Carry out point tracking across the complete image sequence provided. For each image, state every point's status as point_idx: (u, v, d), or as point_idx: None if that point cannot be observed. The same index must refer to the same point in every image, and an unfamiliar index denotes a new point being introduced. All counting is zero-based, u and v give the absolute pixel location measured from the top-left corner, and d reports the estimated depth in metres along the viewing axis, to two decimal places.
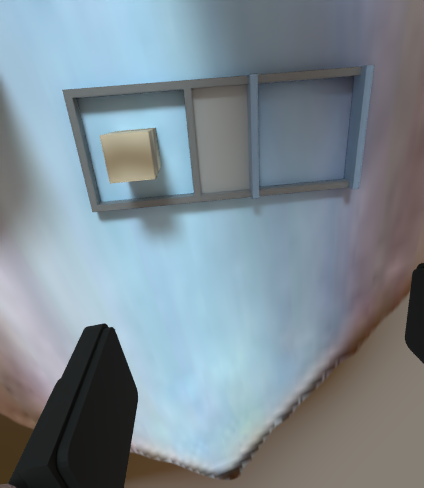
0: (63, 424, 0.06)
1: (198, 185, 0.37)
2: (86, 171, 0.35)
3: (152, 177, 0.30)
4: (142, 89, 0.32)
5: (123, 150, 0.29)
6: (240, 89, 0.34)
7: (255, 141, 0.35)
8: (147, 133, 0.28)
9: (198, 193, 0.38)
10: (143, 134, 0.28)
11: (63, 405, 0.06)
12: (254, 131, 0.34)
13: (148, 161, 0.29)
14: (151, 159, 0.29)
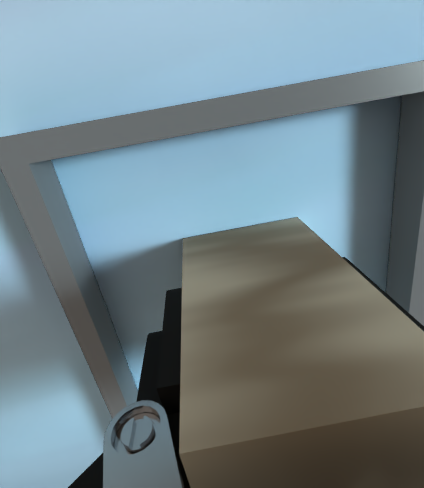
0: None
1: None
2: (169, 124, 0.08)
3: None
4: (416, 302, 0.12)
5: None
6: None
7: None
8: None
9: None
10: None
11: (174, 345, 0.07)
12: None
13: None
14: None
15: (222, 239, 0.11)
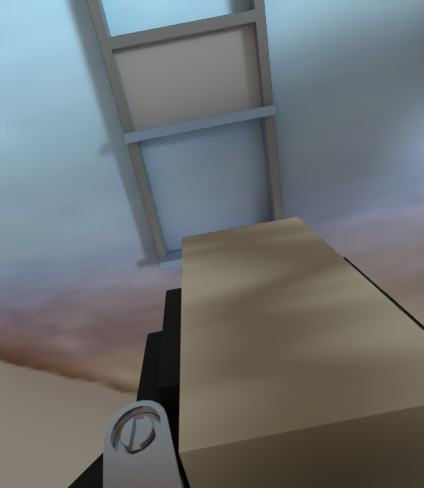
0: None
1: (126, 43, 0.24)
2: None
3: None
4: None
5: (382, 487, 0.05)
6: (256, 98, 0.28)
7: (199, 124, 0.26)
8: None
9: (113, 44, 0.24)
10: None
11: (174, 345, 0.07)
12: (212, 121, 0.26)
13: None
14: None
15: (222, 238, 0.11)
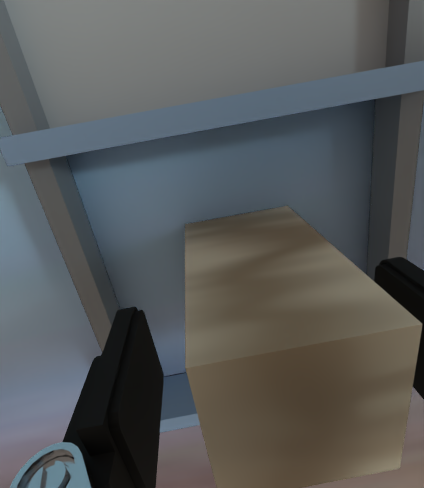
0: (111, 392, 0.06)
1: None
2: None
3: None
4: None
5: (343, 407, 0.06)
6: (373, 47, 0.10)
7: (227, 112, 0.09)
8: (391, 466, 0.07)
9: None
10: (391, 458, 0.07)
11: (108, 376, 0.07)
12: (262, 103, 0.09)
13: (288, 479, 0.07)
14: (296, 484, 0.07)
15: (220, 224, 0.12)
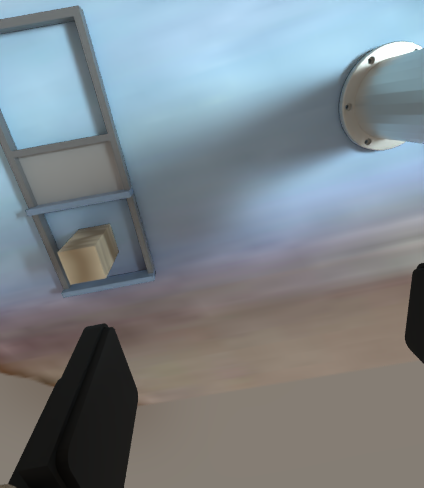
0: (63, 424, 0.06)
1: (23, 154, 0.37)
2: None
3: (71, 282, 0.37)
4: (98, 93, 0.35)
5: (87, 261, 0.36)
6: (120, 184, 0.40)
7: (77, 204, 0.39)
8: (104, 277, 0.37)
9: (15, 155, 0.37)
10: (103, 275, 0.37)
11: (63, 405, 0.06)
12: (86, 202, 0.39)
13: (82, 279, 0.37)
14: (85, 281, 0.37)
15: (87, 229, 0.42)
